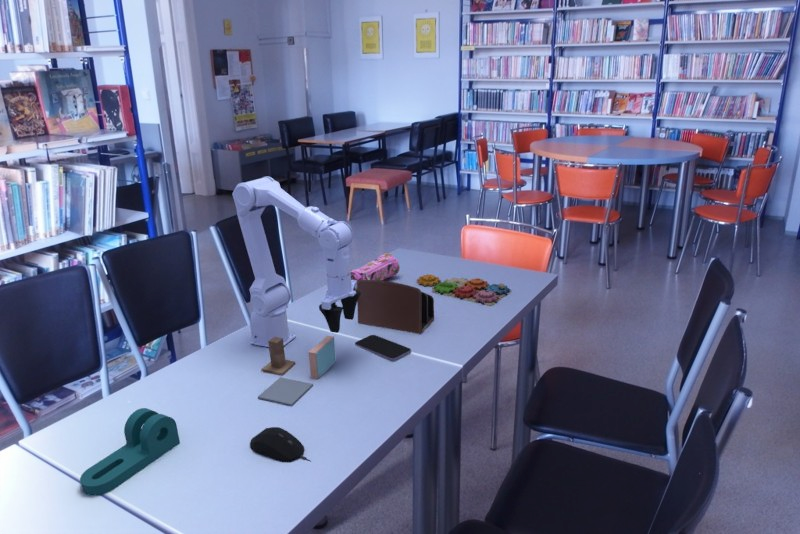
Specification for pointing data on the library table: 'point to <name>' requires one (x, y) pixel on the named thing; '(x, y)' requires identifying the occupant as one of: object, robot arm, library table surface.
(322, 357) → the tile
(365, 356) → the library table surface
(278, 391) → the mat
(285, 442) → the gaming mouse
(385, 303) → the letter holder
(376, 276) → the pencil case
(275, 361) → the stamp
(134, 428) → the bracket
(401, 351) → the smartphone
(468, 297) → the gear puzzle
